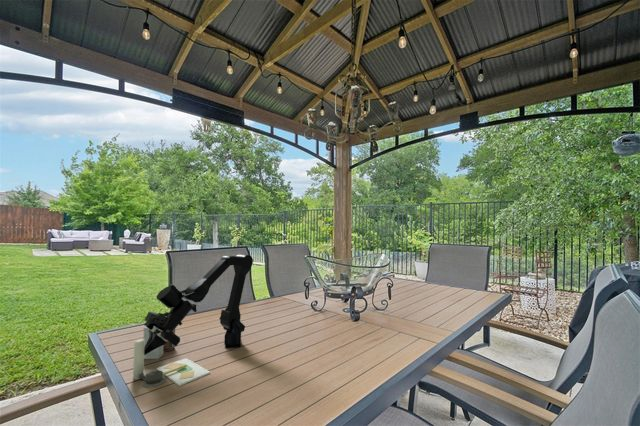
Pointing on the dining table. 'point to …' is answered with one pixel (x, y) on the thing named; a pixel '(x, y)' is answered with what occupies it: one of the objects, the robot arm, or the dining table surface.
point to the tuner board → (180, 373)
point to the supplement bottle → (168, 345)
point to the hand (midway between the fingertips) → (142, 354)
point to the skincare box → (155, 353)
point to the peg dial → (139, 365)
